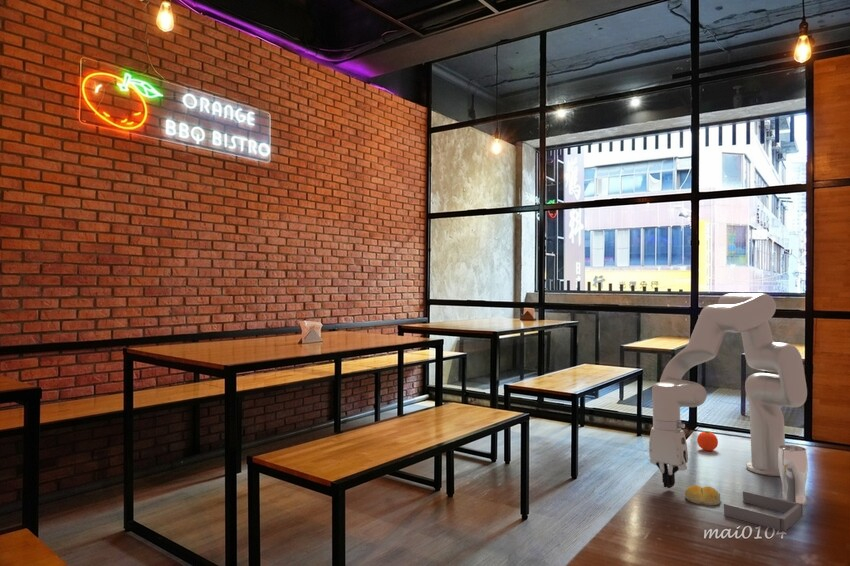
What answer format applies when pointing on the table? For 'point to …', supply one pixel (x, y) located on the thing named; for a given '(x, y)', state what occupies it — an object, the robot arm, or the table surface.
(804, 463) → the beer glass
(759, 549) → the table surface
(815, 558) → the table surface
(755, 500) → the frame
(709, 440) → the clementine
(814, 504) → the table surface
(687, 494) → the bread roll
